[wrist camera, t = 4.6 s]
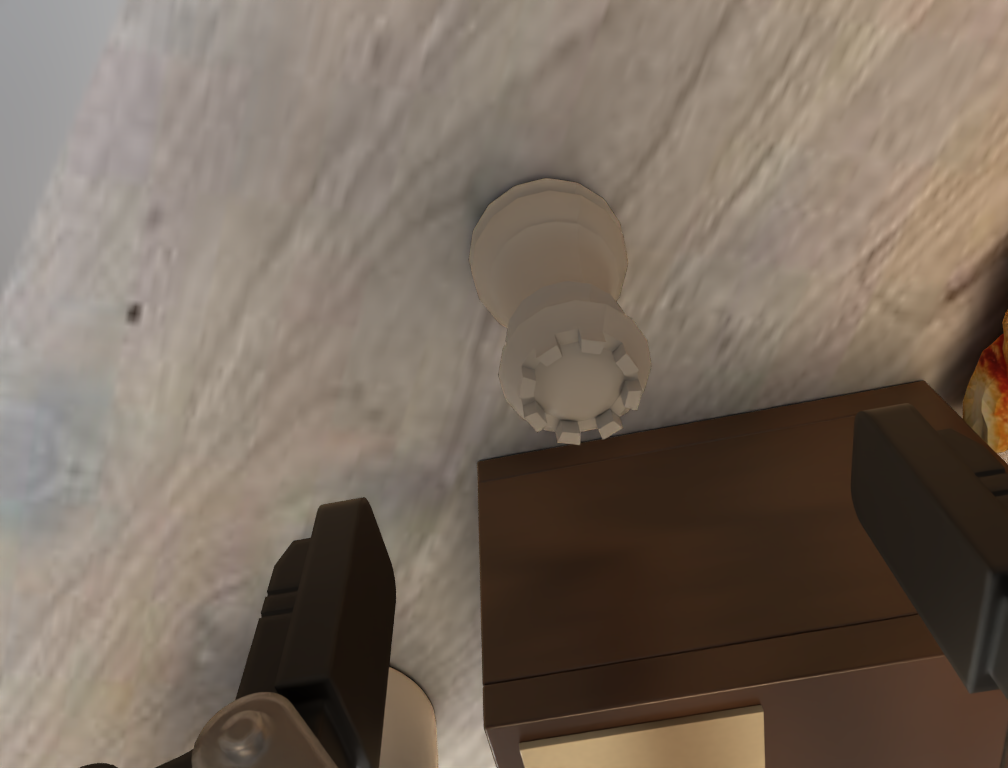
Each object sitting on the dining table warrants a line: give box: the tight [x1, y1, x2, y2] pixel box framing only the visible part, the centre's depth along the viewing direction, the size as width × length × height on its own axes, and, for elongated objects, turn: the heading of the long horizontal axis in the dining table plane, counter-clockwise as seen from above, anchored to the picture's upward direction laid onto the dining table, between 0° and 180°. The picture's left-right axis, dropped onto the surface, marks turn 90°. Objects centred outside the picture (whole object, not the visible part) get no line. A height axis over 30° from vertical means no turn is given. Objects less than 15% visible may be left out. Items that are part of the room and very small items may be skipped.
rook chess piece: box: [469, 178, 651, 445], centre depth 19 cm, size 4×4×8 cm
